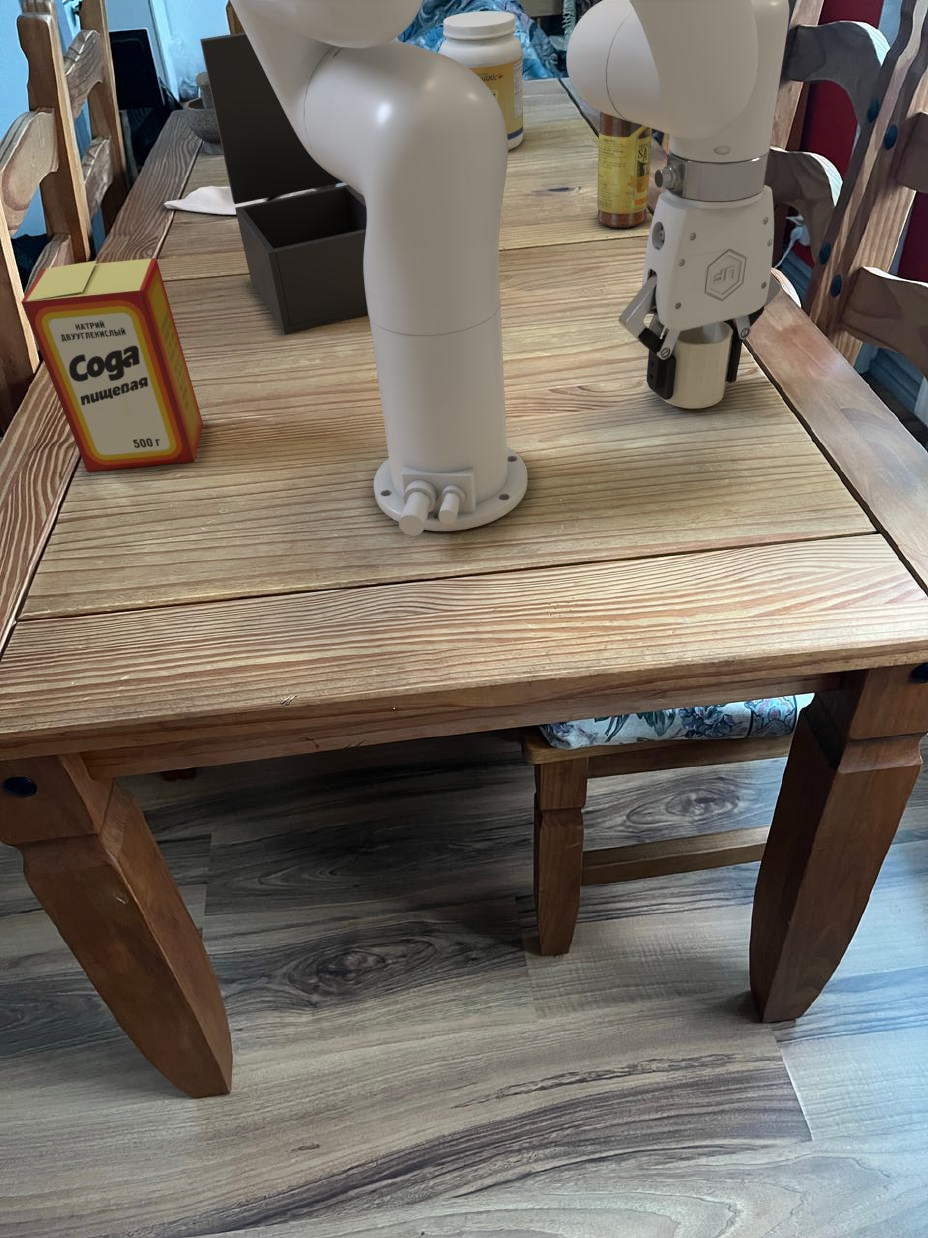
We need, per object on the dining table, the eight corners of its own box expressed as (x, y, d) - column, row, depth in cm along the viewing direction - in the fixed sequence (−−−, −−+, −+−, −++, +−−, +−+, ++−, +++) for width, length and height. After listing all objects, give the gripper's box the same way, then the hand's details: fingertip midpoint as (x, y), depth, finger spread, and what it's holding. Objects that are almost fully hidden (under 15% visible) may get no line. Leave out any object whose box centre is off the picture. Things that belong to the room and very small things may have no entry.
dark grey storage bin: (403, 306, 107) (394, 225, 101) (284, 334, 103) (268, 252, 97) (359, 259, 118) (349, 183, 112) (251, 283, 114) (234, 207, 108)
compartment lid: (332, 20, 99) (317, 7, 102) (201, 41, 96) (191, 26, 99) (349, 181, 111) (336, 164, 114) (234, 204, 108) (224, 186, 111)
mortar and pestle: (197, 142, 160) (178, 61, 152) (254, 136, 161) (238, 55, 153) (191, 162, 152) (171, 78, 144) (251, 156, 152) (234, 71, 144)
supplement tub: (435, 156, 146) (424, 27, 135) (458, 132, 155) (450, 8, 143) (513, 157, 143) (509, 26, 132) (532, 133, 151) (530, 7, 140)
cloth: (152, 223, 132) (147, 206, 131) (174, 190, 142) (169, 173, 141) (340, 210, 131) (338, 192, 130) (348, 177, 141) (346, 160, 140)
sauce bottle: (645, 230, 118) (655, 46, 105) (594, 230, 119) (598, 47, 106) (648, 211, 123) (658, 32, 110) (599, 211, 124) (603, 34, 111)
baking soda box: (203, 423, 90) (155, 253, 79) (194, 460, 85) (141, 285, 74) (101, 433, 90) (40, 264, 79) (87, 471, 85) (19, 297, 74)
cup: (725, 409, 85) (735, 345, 81) (657, 407, 86) (663, 344, 82) (722, 378, 89) (731, 316, 85) (657, 376, 90) (663, 315, 86)
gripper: (644, 207, 70) (628, 426, 82) (838, 167, 75) (797, 380, 86) (594, 179, 75) (587, 388, 87) (778, 144, 80) (747, 347, 92)
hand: (691, 382), depth 87 cm, fingers closed on cup, 5 cm apart
